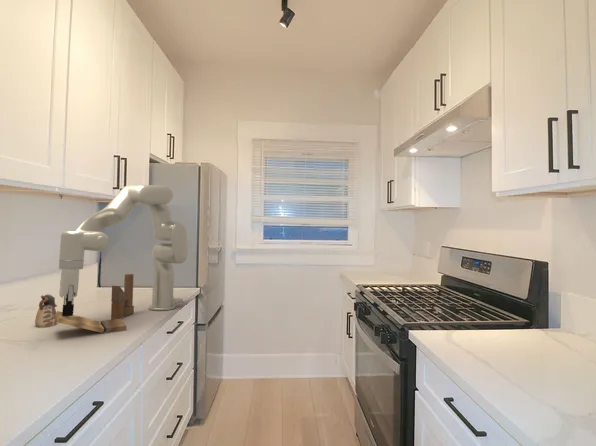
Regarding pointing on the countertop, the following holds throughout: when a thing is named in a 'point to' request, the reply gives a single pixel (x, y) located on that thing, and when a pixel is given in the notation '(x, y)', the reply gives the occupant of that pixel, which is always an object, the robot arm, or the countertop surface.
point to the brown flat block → (113, 325)
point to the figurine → (46, 312)
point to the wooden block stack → (122, 299)
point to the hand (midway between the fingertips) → (67, 315)
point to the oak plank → (79, 322)
